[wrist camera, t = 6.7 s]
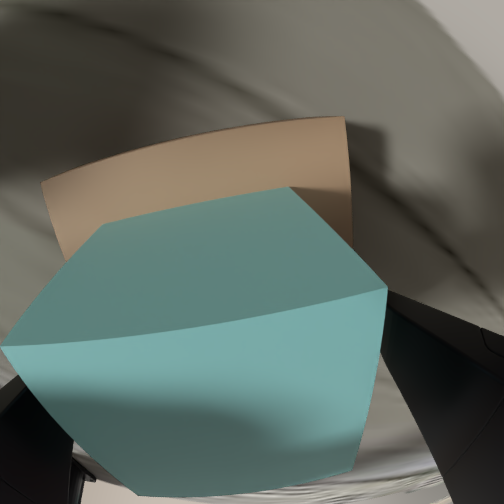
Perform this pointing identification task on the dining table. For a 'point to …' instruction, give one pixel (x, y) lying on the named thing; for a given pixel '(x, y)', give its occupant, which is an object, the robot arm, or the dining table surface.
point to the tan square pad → (207, 176)
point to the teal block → (209, 347)
